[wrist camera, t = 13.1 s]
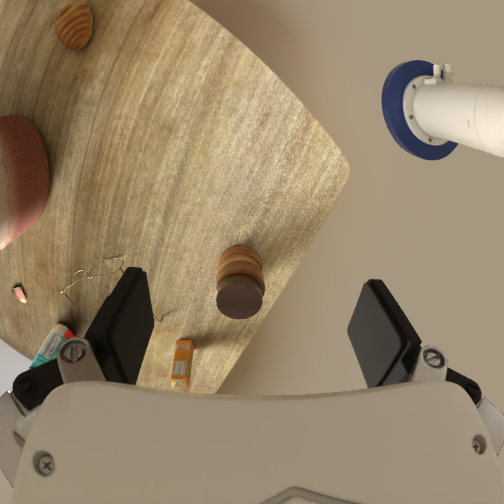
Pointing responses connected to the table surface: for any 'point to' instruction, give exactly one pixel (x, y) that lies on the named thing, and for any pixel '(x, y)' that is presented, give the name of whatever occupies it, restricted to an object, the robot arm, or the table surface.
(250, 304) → the walnut chip
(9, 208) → the planter
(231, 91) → the table surface
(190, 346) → the supplement box
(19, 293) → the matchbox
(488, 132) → the robot arm
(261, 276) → the chip pile
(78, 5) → the pastry
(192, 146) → the table surface
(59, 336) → the beverage can
